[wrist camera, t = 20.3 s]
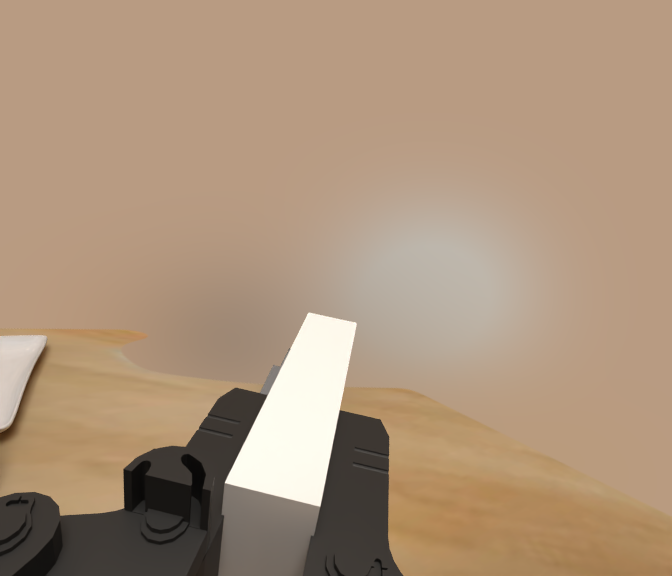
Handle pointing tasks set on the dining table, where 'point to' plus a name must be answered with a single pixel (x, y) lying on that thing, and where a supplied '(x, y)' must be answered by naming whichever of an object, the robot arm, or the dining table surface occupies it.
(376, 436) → the robot arm
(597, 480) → the dining table surface
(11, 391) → the salad plate
